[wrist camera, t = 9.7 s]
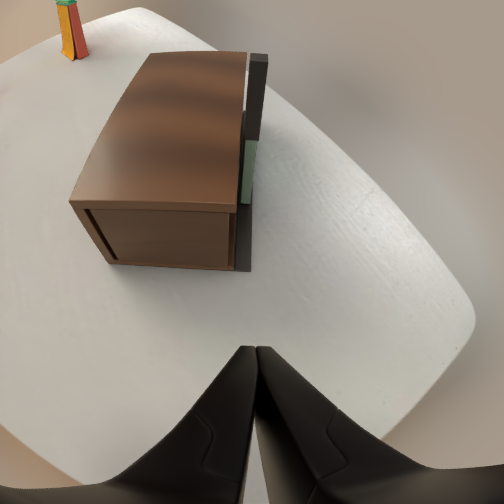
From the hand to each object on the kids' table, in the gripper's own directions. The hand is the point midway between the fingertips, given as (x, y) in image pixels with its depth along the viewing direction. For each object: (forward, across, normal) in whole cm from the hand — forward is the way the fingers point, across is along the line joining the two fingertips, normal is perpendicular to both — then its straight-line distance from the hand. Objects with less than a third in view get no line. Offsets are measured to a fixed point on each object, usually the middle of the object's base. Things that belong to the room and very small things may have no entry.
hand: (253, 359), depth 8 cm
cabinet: (+22, +6, -5) cm, 23 cm away
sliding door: (+22, 0, -6) cm, 23 cm away
